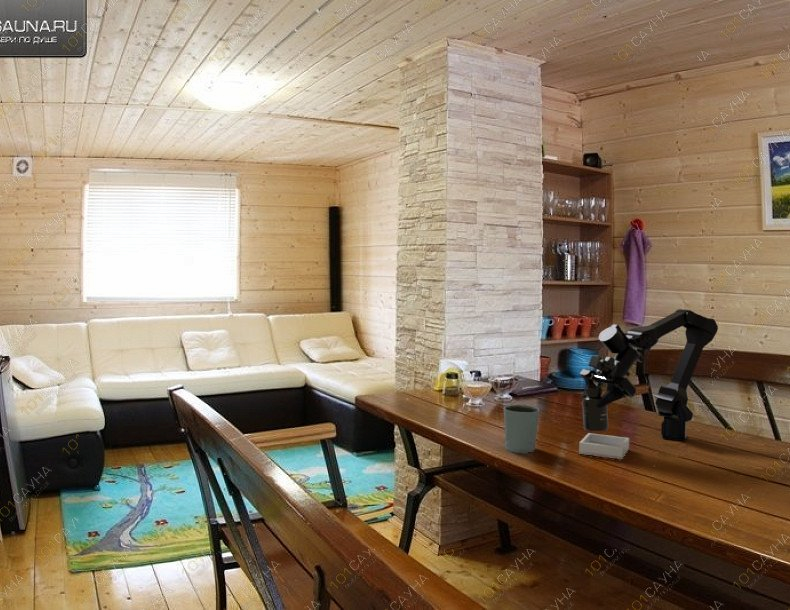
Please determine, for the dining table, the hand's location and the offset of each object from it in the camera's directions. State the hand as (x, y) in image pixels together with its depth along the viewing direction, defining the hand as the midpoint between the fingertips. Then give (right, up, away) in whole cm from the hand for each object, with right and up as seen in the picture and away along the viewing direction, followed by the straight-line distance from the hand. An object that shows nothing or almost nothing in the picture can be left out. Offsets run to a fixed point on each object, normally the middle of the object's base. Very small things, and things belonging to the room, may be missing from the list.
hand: (590, 404), depth 193 cm
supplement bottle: (+2, -8, 0) cm, 8 cm away
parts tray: (+4, -13, -2) cm, 14 cm away
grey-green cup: (-20, -13, +2) cm, 24 cm away
